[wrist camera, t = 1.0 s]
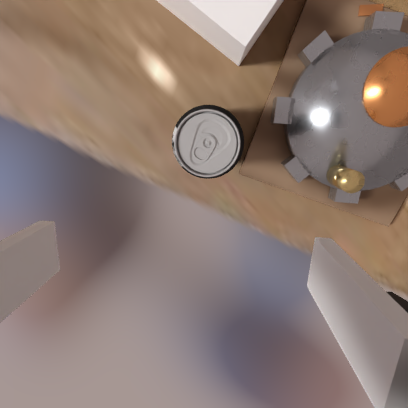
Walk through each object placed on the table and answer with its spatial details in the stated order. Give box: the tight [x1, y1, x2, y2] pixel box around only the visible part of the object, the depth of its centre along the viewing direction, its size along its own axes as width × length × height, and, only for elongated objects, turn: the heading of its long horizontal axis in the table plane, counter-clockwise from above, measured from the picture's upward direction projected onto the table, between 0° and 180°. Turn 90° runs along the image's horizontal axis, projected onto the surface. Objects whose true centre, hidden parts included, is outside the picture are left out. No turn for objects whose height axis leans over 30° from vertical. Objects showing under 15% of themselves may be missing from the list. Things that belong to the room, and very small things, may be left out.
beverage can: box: [172, 105, 244, 178], centre depth 29 cm, size 7×7×12 cm
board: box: [239, 0, 408, 227], centre depth 32 cm, size 22×21×1 cm
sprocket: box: [270, 11, 408, 204], centre depth 29 cm, size 20×20×6 cm
